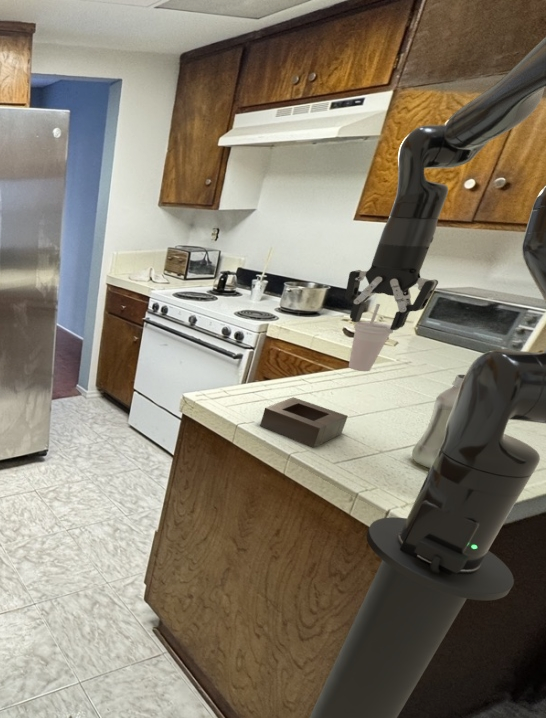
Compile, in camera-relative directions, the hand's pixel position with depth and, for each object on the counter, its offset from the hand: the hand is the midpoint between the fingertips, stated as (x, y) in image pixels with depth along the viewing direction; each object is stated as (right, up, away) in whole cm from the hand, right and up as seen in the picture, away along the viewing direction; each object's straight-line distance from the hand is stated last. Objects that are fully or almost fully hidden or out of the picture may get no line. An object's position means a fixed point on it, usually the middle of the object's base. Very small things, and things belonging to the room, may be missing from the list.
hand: (374, 325), depth 98 cm
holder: (-4, -23, +16) cm, 28 cm away
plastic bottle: (+13, -30, +1) cm, 32 cm away
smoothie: (0, -9, +4) cm, 10 cm away
